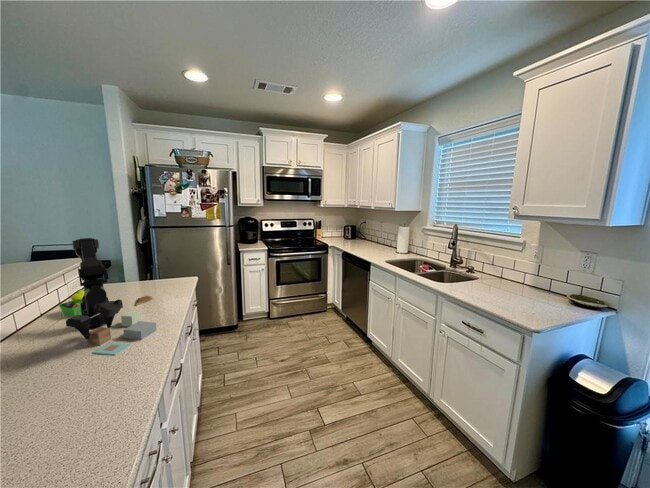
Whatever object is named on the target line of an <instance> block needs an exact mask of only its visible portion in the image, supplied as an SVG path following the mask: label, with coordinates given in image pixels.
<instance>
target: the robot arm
mask: <svg viewBox="0 0 650 488" xmlns="http://www.w3.org/2000/svg"><path fill="white" fill-rule="evenodd" d="M99 248H100V243H99V239H95V238H94V237H85V238H82V237H80V238H78V239H74V240H72V250H73V251H75V254H76V256H77V258H79V259H80V260H81V262H80V263H79V266H80V268H78V271H77V272H78V277H79V284H80V285H79V287H83V290H84V296H83V298H82V303H80V307H81V315H76V316H73V317H71V316H70V317H69V318H67V319H66V321H65V327H66V328H67V327H68V328H69V327H70V328H74V329H76V330H77V331H78V333H80V334H81V335H82V336H83V337H84V339H85V340H87V339H89V338H90V333H89V332H90V330H94V329H96V328H98V327H103V326H104V325H105V326H106V328H110V329H111V327H112V324H113V322H114V318H115V316H116V315H117V314H119V312H120V311H121V309H124V305H123V300H122V299H120V298H118V299H116V300H109V297H108V296H107V295H108V294H107V291H106V289H105V287H104V284H105V283H108V280H109V275H108V274H109V272H108V270H107V268H106V266H105V265H103V263H102V261H101V260H100V259H98V258H97V253H98V249H99Z"/></svg>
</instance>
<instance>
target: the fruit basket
mask: <svg viewBox="0 0 650 488" xmlns="http://www.w3.org/2000/svg"><path fill="white" fill-rule="evenodd" d="M83 296H84V289H79V290H77V291H76V293H74V294H72V295H71V297H70V299H71V300H69V301H67V302H63V303H60V304H58V307H59V308H60V309H61V311H62V313H63V314H64V315H65V316H69V317H70V318H71V317H73V316H76V315H81V307H80V303H82V298H83Z"/></svg>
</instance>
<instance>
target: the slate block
mask: <svg viewBox="0 0 650 488" xmlns="http://www.w3.org/2000/svg"><path fill="white" fill-rule="evenodd" d="M157 331H158V329H157V322H151V321H143V320H141V321H139V322H137V323H135V324H133V325H131V326H127V327H125V328H124V329H123V336H124V339H129V340H130V339H131V340H137V341H138V340H139V341H142V340H144V339H146V338H147V337H149V336H150V335H152V334H154V333H155V332H157Z"/></svg>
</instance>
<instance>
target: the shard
mask: <svg viewBox="0 0 650 488" xmlns="http://www.w3.org/2000/svg"><path fill="white" fill-rule="evenodd" d="M152 300H155V297H153V296H150V295H144V296H140V297H138V298H137V300H136V303H135V305H136V306H139V305H142V304H145V303H147V302H150V301H152Z"/></svg>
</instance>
